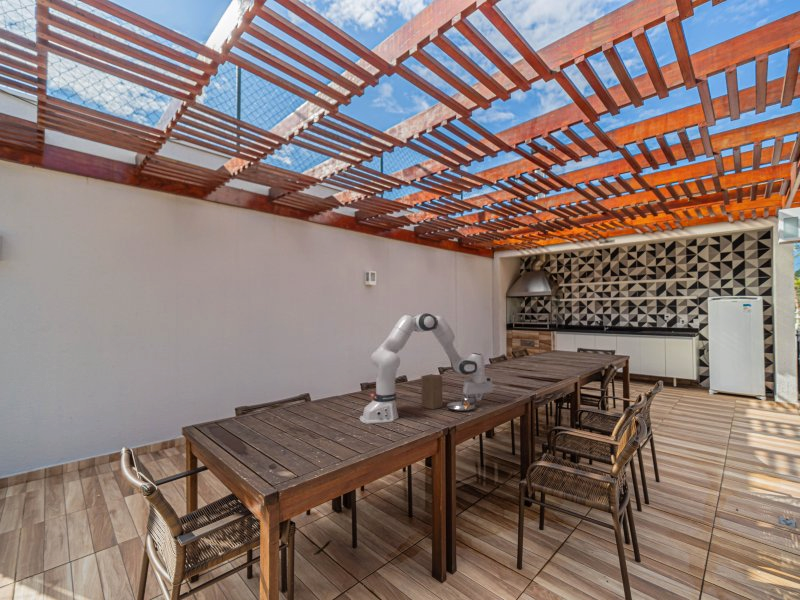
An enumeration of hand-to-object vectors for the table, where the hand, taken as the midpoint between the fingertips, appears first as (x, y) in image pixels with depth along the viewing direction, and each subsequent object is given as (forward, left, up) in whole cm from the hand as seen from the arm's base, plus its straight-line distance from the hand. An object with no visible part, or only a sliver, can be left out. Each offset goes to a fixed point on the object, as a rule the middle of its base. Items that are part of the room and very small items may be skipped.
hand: (478, 400), depth 228 cm
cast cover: (-8, 0, -1) cm, 8 cm away
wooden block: (-27, +12, -4) cm, 30 cm away
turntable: (-13, 0, -4) cm, 13 cm away
